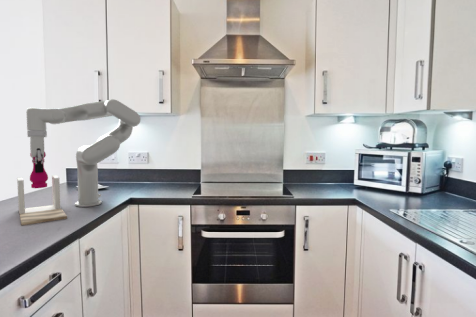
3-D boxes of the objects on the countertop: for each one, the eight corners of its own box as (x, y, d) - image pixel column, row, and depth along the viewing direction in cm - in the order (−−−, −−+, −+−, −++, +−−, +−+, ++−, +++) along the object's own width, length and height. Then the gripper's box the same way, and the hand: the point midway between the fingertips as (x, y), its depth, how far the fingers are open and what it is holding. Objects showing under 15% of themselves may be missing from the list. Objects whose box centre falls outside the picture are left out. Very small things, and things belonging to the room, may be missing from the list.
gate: (18, 210, 135) (17, 177, 134) (57, 205, 146) (56, 175, 144) (19, 214, 128) (18, 180, 127) (60, 209, 138) (59, 177, 137)
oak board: (19, 216, 126) (19, 213, 125) (61, 210, 136) (61, 208, 136) (21, 225, 113) (21, 222, 113) (67, 218, 124) (67, 215, 124)
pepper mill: (27, 188, 130) (25, 146, 129) (34, 186, 137) (32, 145, 136) (44, 188, 132) (43, 146, 130) (50, 185, 139) (49, 145, 137)
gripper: (26, 133, 137) (28, 170, 138) (28, 134, 124) (30, 174, 125) (45, 134, 141) (46, 169, 143) (48, 134, 128) (50, 173, 130)
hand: (38, 171), depth 134 cm, fingers closed on pepper mill, 5 cm apart
